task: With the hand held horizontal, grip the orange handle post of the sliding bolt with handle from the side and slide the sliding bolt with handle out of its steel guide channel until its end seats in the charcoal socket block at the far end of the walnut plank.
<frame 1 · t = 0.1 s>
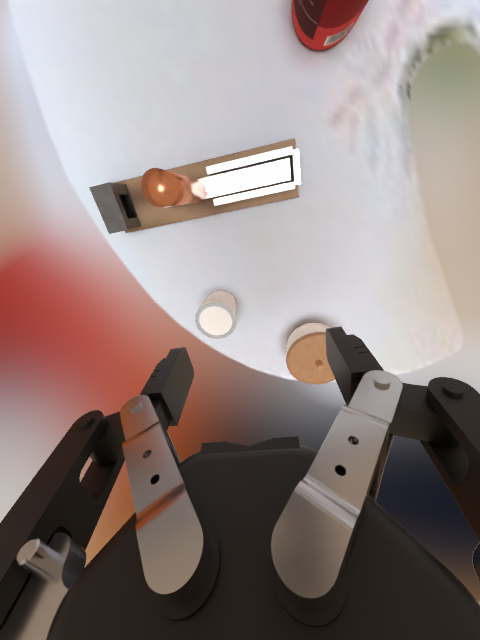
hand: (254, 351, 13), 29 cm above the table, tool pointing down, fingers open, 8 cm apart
plank: (244, 181, 34), on the table
canned food: (325, 5, 26), on the table
socket block: (117, 208, 34), on the plank, point 3 cm above the table
sliding bolt with handle: (217, 182, 27), point 9 cm above the table, slide at 0.0 cm
beige cylindrical piece: (221, 303, 44), on the table
guide sleeve: (254, 177, 32), on the plank, point 3 cm above the table
lidded jar: (309, 336, 47), on the table
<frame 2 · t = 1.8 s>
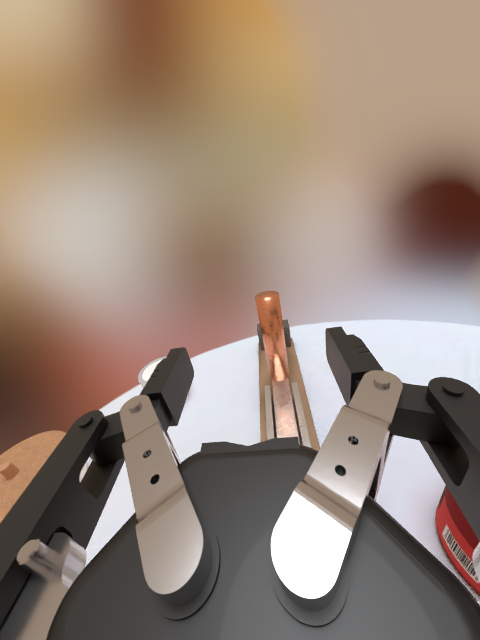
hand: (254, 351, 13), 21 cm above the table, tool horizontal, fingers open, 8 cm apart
plank: (287, 432, 31), on the table
socket block: (274, 335, 46), on the plank, point 3 cm above the table
sliding bolt with handle: (277, 364, 29), point 9 cm above the table, slide at 0.0 cm
beige cylindrical piece: (173, 400, 41), on the table
guide sleeve: (286, 428, 28), on the plank, point 3 cm above the table
lidded jar: (56, 510, 28), on the table
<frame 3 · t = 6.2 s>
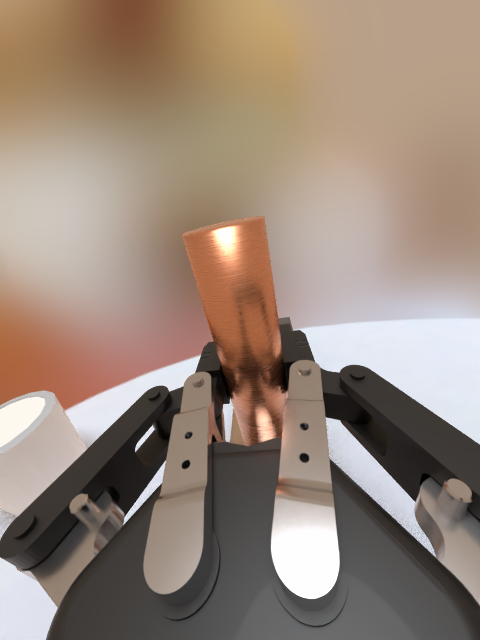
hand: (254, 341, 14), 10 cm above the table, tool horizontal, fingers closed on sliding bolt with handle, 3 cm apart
sliding bolt with handle: (258, 470, 8), point 9 cm above the table, slide at 0.0 cm, touching gripper
beige cylindrical piece: (56, 480, 20), on the table
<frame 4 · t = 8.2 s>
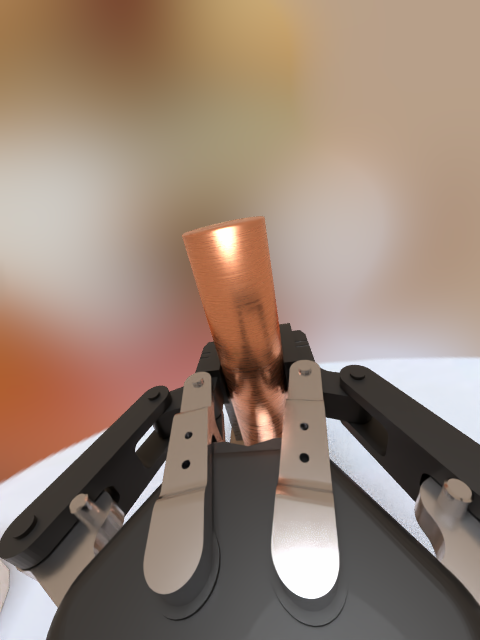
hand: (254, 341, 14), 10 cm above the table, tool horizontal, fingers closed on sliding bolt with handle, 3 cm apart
sliding bolt with handle: (257, 470, 8), point 9 cm above the table, slide at 7.9 cm, touching gripper
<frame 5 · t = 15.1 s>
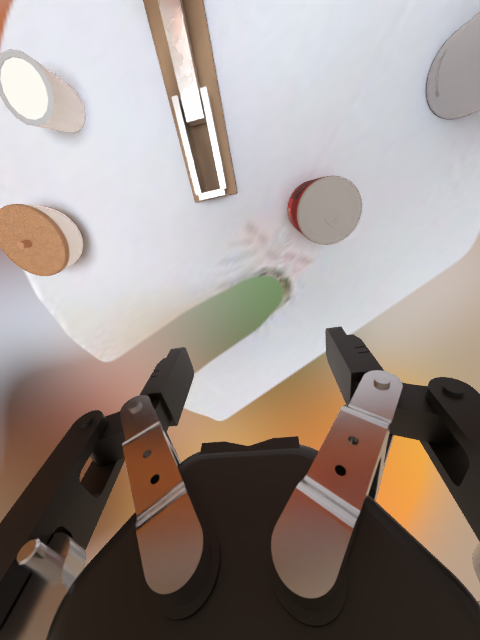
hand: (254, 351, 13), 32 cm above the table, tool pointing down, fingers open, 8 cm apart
plank: (204, 142, 35), on the table
canned food: (310, 207, 38), on the table
beige cylindrical piece: (66, 109, 34), on the table
guide sleeve: (203, 151, 33), on the plank, point 3 cm above the table
lidded jar: (66, 235, 43), on the table
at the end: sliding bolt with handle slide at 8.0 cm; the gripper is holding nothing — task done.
